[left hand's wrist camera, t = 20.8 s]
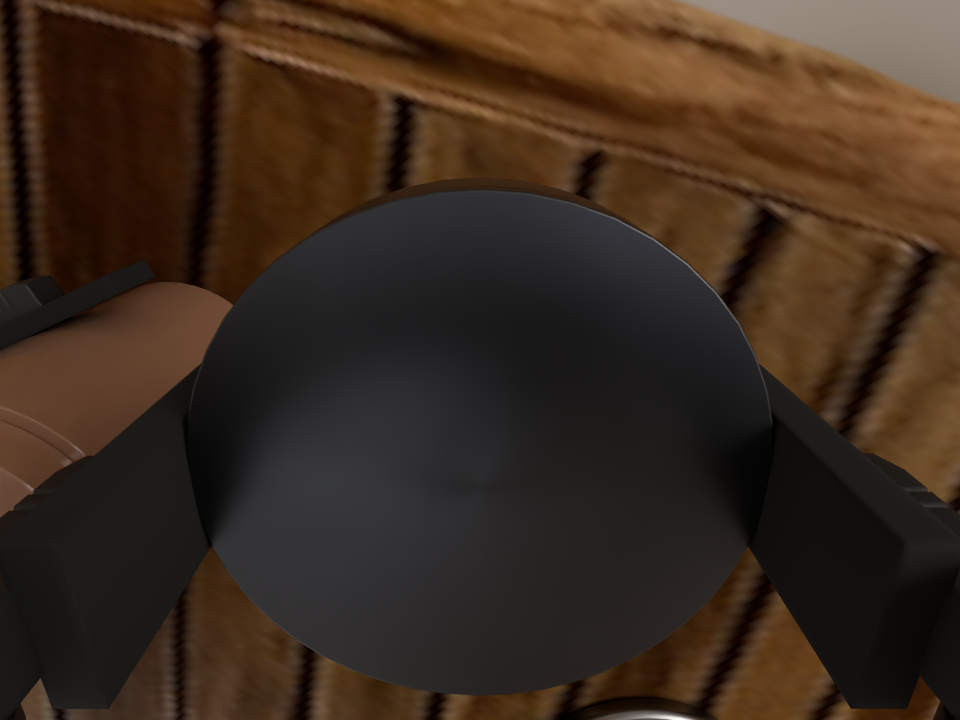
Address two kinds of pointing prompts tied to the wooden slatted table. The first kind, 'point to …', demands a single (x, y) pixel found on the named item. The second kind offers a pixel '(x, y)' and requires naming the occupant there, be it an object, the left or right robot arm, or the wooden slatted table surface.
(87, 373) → the jar
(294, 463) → the lid
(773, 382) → the left robot arm
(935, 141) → the wooden slatted table surface
